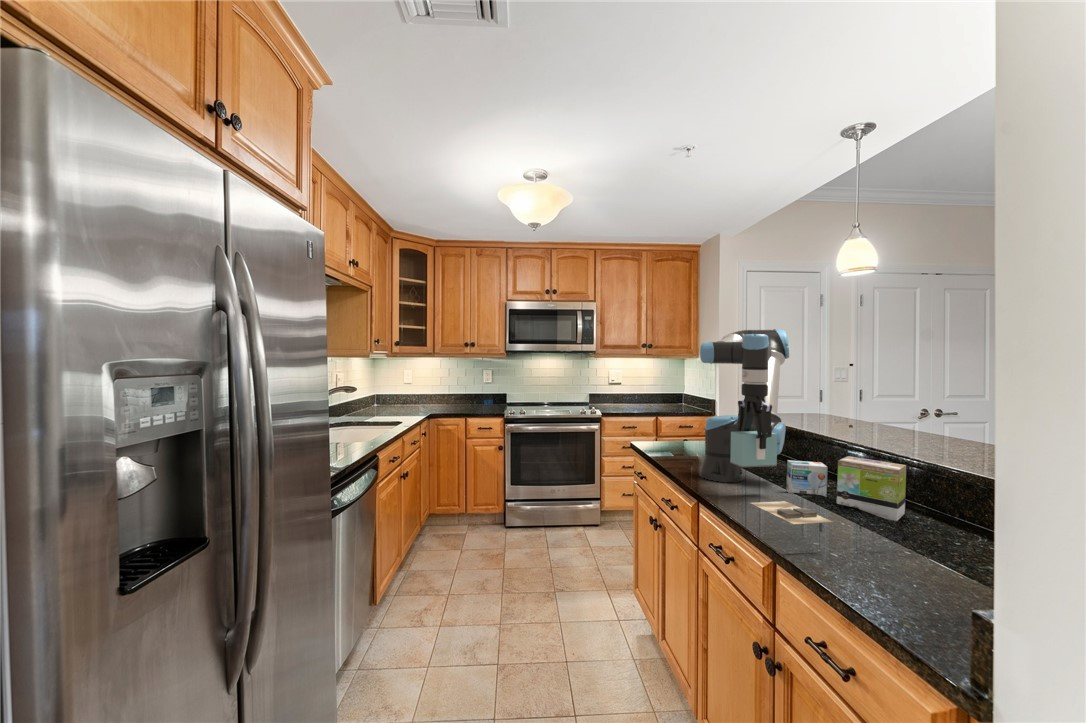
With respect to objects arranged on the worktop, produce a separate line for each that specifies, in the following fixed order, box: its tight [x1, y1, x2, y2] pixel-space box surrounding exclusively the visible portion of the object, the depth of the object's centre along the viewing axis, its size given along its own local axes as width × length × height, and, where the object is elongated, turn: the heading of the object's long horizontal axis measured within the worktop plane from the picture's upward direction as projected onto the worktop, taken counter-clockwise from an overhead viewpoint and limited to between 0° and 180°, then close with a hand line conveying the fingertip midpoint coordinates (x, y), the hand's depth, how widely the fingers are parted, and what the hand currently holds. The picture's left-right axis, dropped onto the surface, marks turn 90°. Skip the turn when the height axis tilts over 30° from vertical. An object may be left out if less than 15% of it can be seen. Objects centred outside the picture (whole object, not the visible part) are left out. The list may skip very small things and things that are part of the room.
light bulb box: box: [785, 459, 828, 498], centre depth 151 cm, size 11×7×11 cm, turn 74°
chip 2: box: [793, 507, 818, 518], centre depth 127 cm, size 4×4×1 cm
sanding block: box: [730, 431, 778, 468], centre depth 145 cm, size 6×12×10 cm, turn 101°
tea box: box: [836, 455, 907, 522], centre depth 135 cm, size 15×10×15 cm
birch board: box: [750, 500, 834, 525], centre depth 129 cm, size 18×12×2 cm, turn 11°
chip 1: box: [777, 509, 801, 519], centre depth 126 cm, size 4×4×1 cm
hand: (753, 456), depth 145 cm, fingers closed on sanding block, 6 cm apart
